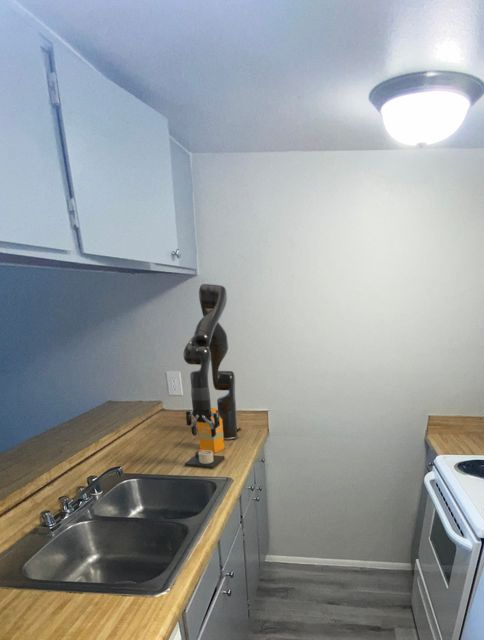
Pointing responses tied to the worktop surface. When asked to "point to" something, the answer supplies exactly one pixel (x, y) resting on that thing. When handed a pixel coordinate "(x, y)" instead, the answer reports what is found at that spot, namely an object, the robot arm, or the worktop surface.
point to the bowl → (206, 457)
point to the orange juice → (205, 435)
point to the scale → (195, 463)
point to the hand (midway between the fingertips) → (204, 436)
